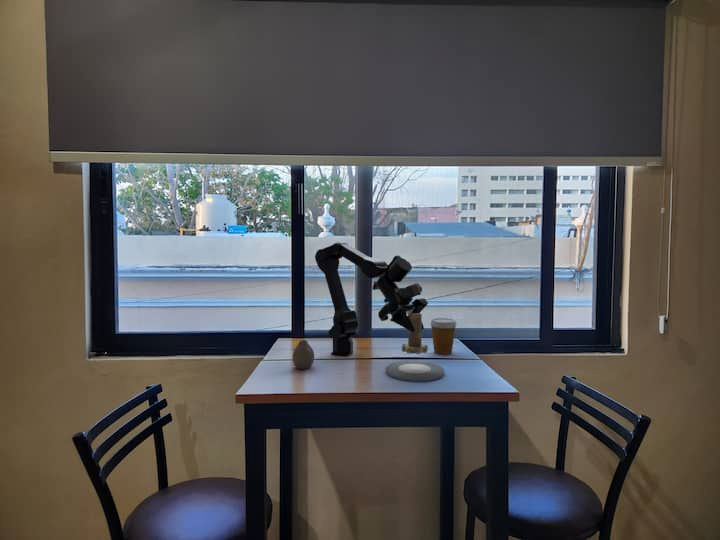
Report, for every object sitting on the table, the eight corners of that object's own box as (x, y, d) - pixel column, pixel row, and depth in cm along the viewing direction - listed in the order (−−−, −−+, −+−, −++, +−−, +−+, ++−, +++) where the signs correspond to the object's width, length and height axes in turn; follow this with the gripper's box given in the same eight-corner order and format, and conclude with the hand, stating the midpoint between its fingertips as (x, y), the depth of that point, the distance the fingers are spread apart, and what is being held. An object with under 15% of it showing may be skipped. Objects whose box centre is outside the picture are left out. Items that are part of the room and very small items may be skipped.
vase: (317, 365, 150) (317, 339, 149) (308, 371, 143) (308, 344, 143) (298, 363, 152) (298, 337, 151) (288, 369, 146) (288, 342, 145)
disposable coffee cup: (445, 357, 161) (445, 323, 160) (424, 352, 168) (424, 320, 167) (461, 353, 167) (462, 320, 166) (440, 348, 174) (441, 317, 173)
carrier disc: (378, 377, 137) (378, 373, 137) (394, 362, 154) (394, 358, 154) (438, 384, 131) (438, 379, 131) (448, 367, 148) (448, 363, 148)
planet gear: (405, 354, 137) (406, 316, 137) (398, 348, 145) (399, 312, 144) (431, 353, 139) (431, 316, 138) (423, 347, 147) (423, 311, 146)
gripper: (385, 276, 136) (414, 318, 130) (423, 273, 150) (451, 311, 143) (366, 300, 143) (393, 341, 136) (404, 295, 156) (430, 332, 149)
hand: (418, 330), depth 141 cm, fingers closed on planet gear, 4 cm apart
